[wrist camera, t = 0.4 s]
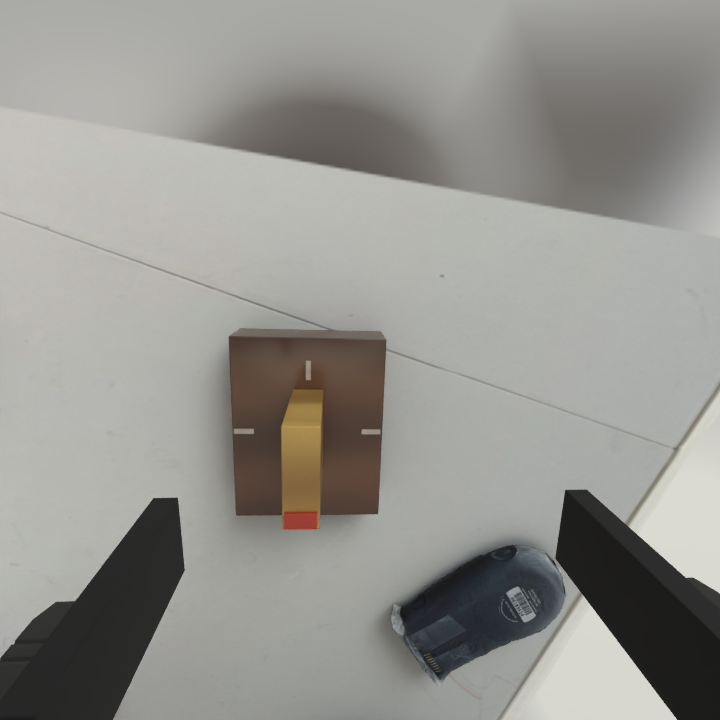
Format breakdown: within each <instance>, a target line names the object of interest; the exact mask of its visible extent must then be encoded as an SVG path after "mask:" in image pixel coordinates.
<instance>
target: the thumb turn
mask: <svg viewBox="0 0 720 720" xmlns="http://www.w3.org/2000/svg"><path fill="white" fill-rule="evenodd" d="M323 400H324V390H308V389H293V391H292V394H291V398H290V401H289V404H288V407H287V410H286V413H285V416H284V419H283V423H282V426H281V465H282V529H319V528H320V512H321V493H322V473H323Z"/></svg>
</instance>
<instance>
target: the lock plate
mask: <svg viewBox="0 0 720 720" xmlns="http://www.w3.org/2000/svg"><path fill="white" fill-rule="evenodd" d="M229 352H230V377H231V402H232V426H233V451H234V476H235V500H236V515H282V465H281V426H282V423H283V419H284V416H285V413H286V410H287V407H288V404H289V401H290V398H291V394H292V391H293V389H308V390H324V400H323V473H322V493H321V512H320V515H340V514H378V506H379V485H380V463H381V442H382V421H383V399H384V378H385V357H386V339H385V337H384V336H383V334H382V333H381V332H375V331H329V330H282V329H239V330H237V331H236V332H235V333H233V334H232V335H230V336H229Z"/></svg>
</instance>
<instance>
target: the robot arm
mask: <svg viewBox="0 0 720 720" xmlns="http://www.w3.org/2000/svg"><path fill="white" fill-rule="evenodd" d="M555 559H556V560H557V561H558V563H559V564H560V565H561V566H562V568H563V569H564V570H565V572H566V573H567V574H568V576H569V577H570V578H571V580H572V581H573V582H574V584H575V585H576V586H577V588H578V589H579V590H580V592H581V593H582V594H583V596H584V597H585V598H586V600H587V601H588V602H589V604H590V605H591V606H592V607H593V609H594V610H595V611H596V613H597V614H598V615H599V617H600V618H601V619H602V621H603V622H604V623H605V625H606V626H607V627H608V629H609V630H610V631H611V632H612V634H613V635H614V637H615V638H616V639H617V640H618V642H619V643H620V645H621V646H622V647H623V648H624V650H625V651H626V652H627V654H628V655H629V656H630V658H631V659H632V660H633V662H634V663H635V664H636V666H637V667H638V668H639V670H640V671H641V672H642V674H643V675H644V676H645V678H646V679H647V680H648V681H649V683H650V684H651V686H652V687H653V688H654V690H655V691H656V692H657V694H658V695H659V696H660V697H661V699H662V700H663V701H664V703H665V704H666V705H667V707H668V708H669V709H670V711H671V712H672V713H673V715H674V716H675V717H676V719H677V720H720V594H719V593H718V592H716V591H715V590H713V589H711V588H710V587H708V586H706V585H705V584H703V583H701V582H700V581H698V580H696V579H695V578H685V577H684V576H683V575H682V574H681V573H680V572H678V571H677V570H676V569H675V568H674V567H673V566H672V565H671V564H669V563H668V562H667V561H666V560H665V559H664V558H663V557H662V556H660V555H659V554H658V553H657V552H656V551H655V550H654V549H653V548H652V547H650V546H649V545H648V544H647V543H646V542H645V541H644V540H643V539H641V538H640V537H639V536H638V535H637V534H636V533H635V532H634V531H632V530H631V529H630V528H629V527H628V526H627V525H626V524H625V523H623V522H622V521H621V520H620V519H619V518H618V517H617V516H616V515H614V514H613V513H612V512H611V511H610V510H609V509H608V508H607V507H605V506H604V505H603V504H602V503H601V502H600V501H599V500H598V499H597V498H595V497H594V496H593V495H592V494H591V493H590V492H589V491H588V490H565V496H564V503H563V510H562V517H561V524H560V530H559V537H558V544H557V551H556V558H555ZM184 570H185V569H184V559H183V548H182V537H181V526H180V516H179V505H178V498H153V500H152V501H151V502H150V504H149V505H148V506H147V508H146V509H145V510H144V512H143V513H142V514H141V516H140V517H139V518H138V520H137V521H136V522H135V523H134V525H133V526H132V527H131V529H130V530H129V531H128V533H127V534H126V535H125V537H124V538H123V539H122V541H121V542H120V543H119V545H118V546H117V547H116V549H115V550H114V551H113V552H112V554H111V555H110V556H109V558H108V559H107V560H106V562H105V563H104V564H103V566H102V567H101V568H100V570H99V571H98V572H97V574H96V575H95V576H94V577H93V579H92V580H91V581H90V583H89V584H88V585H87V587H86V588H85V589H84V591H83V592H82V593H81V595H80V596H79V597H78V599H77V600H76V601H70V602H55V603H54V604H53V605H52V606H50V607H49V608H48V609H46V610H45V611H44V612H42V613H41V614H40V615H38V616H37V617H36V618H34V619H33V620H32V621H31V622H30V624H29V625H28V626H27V627H26V628H25V630H24V631H23V632H22V633H21V634H20V636H19V637H18V638H17V639H16V640H15V644H14V645H11V646H10V647H9V649H8V650H7V651H6V652H5V653H4V655H3V656H2V657H1V659H0V720H113V718H114V716H115V714H116V712H117V710H118V708H119V706H120V703H121V701H122V699H123V697H124V695H125V693H126V691H127V689H128V687H129V685H130V683H131V681H132V679H133V676H134V674H135V672H136V670H137V668H138V666H139V664H140V662H141V660H142V658H143V656H144V654H145V651H146V649H147V647H148V645H149V643H150V641H151V639H152V637H153V635H154V633H155V631H156V629H157V627H158V624H159V622H160V620H161V618H162V616H163V614H164V612H165V610H166V608H167V606H168V604H169V602H170V599H171V597H172V595H173V593H174V591H175V589H176V587H177V585H178V583H179V581H180V579H181V577H182V575H183V572H184Z"/></svg>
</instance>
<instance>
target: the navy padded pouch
mask: <svg viewBox="0 0 720 720" xmlns="http://www.w3.org/2000/svg"><path fill="white" fill-rule="evenodd" d="M565 597H566V592H565V588H564V584H563V577H562V575H561V570H560V569H558V567H557V566H556V564H555V562H554V561H553V560H552V559H551V557H550V556H549V555H548V554H547V553H545V552H543V551H541V550H538V549H535V548H532V547H528V546H521V545H511V546H506V547H503V548H500V549H497V550H495V551H493V552H490V553H488V554H486V555H485V556H479V557H477V558H476V559H474V560H472V561H471V562H468V563H466V564H465V565H464V566H463V567H461V568H459V569H458V570H456V571H455V572H453V573H451V574H449V575H448V576H447V577H445V578H444V579H442V580H440V581H439V582H438V583H436V584H434V585H432V586H431V587H430V588H429V589H428V590H427V591H425V592H424V593H423V594H421V595H419V596H418V597H417V599H416V600H414V601H412V602H411V603H410V604H408V605H407V606H405V607H400V606H397V604H394V605H393V611H392V615H391V621H392V627H393V628H394V630H395V631H396V632H397V634H398V635H399V636H400V638H401V639H402V640H403V642H404V643H405V645H406V646H407V647H408V648H409V649H410V651H411V652H412V654H413V655H414V657H415V658H416V660H417V661H418V662H419V663H420V665H421V667H422V668H423V669H424V670H425V671H426V673H427V674H428V675H429V676H430V678H431V679H432V680H433V681H434V683H435V684H436V685H438V686H439V685H442V683H443V681H444V679H445V678H446V676H447V675H448V674H449V673H450V672H451V671H453V670H455V669H457V668H458V667H460V666H462V665H464V664H466V663H469V662H470V661H471V660H473V659H475V658H477V657H480V656H483V655H485V654H487V653H488V652H490V651H491V650H493V649H496V648H498V647H500V646H504V645H506V644H508V643H510V642H511V641H514V640H519V639H522V638H525V637H527V636H530V635H532V634H534V633H537V632H540V631H542V630H543V629H544V628H546V627H547V626H548V625H549V624H550V623H551V622H552V621H553V620H554V619H555V618H556V617H557V616H558V614H559V613H560V611H561V609H562V606H563V604H564V601H565Z"/></svg>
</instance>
